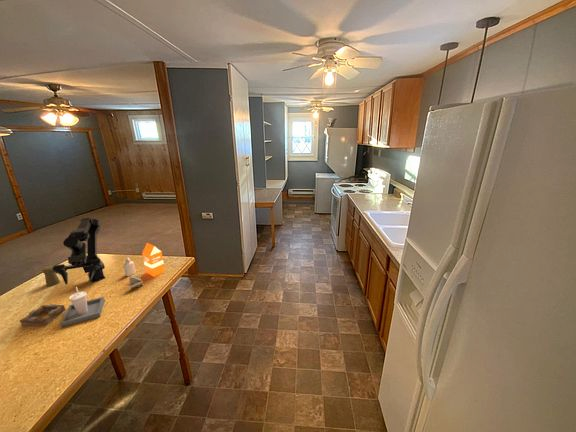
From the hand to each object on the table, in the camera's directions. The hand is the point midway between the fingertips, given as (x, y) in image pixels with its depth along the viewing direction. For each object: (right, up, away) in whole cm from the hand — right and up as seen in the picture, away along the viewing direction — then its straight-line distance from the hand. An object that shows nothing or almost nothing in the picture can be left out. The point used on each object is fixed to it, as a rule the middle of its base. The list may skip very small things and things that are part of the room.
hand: (78, 282), depth 118 cm
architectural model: (+18, -9, +19) cm, 27 cm away
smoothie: (+4, -14, -2) cm, 15 cm away
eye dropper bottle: (+5, -4, +32) cm, 33 cm away
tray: (+5, -15, -2) cm, 16 cm away
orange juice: (+20, -3, +34) cm, 40 cm away
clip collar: (-12, -16, -5) cm, 20 cm away
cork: (-34, -7, +21) cm, 41 cm away
